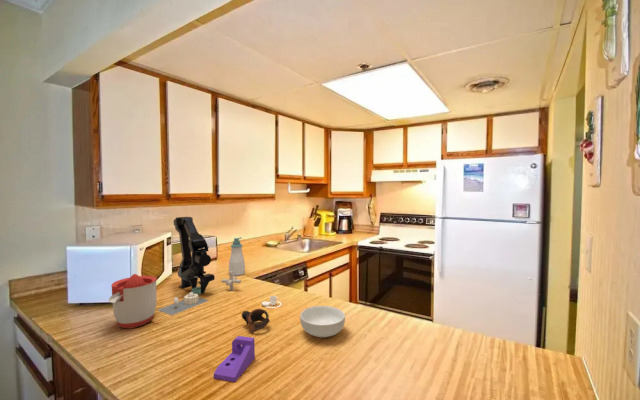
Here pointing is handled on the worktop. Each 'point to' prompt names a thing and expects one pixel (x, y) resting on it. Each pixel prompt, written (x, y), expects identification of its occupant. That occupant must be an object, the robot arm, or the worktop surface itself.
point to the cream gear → (191, 299)
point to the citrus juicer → (134, 300)
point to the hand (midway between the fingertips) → (198, 292)
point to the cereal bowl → (322, 320)
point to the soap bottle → (236, 258)
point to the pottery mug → (256, 319)
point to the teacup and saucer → (271, 302)
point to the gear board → (180, 305)
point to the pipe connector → (231, 281)
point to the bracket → (236, 359)
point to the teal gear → (196, 290)
